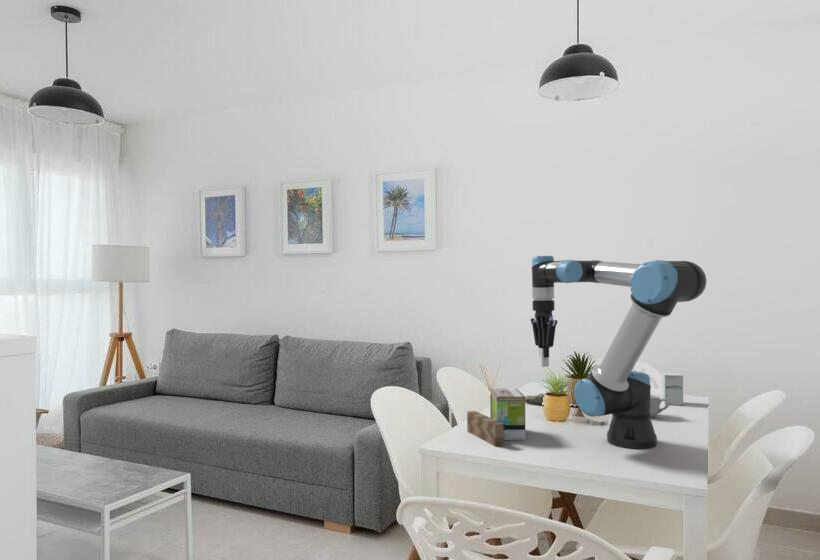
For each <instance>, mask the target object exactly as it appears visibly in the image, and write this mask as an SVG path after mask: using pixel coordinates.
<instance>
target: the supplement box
mask: <svg viewBox="0 0 820 560" xmlns="http://www.w3.org/2000/svg"><path fill="white" fill-rule="evenodd" d="M661 384H662V385H661V389H662V391H661V398H665V399H667V400H668V402H669V406H670V405H671V406H684V374H682V373H681V372H667V371H666V372H664V371H663V372H661ZM662 403H663V404H664V405H665V406H666V402H665V401H662Z"/></svg>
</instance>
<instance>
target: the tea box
mask: <svg viewBox="0 0 820 560" xmlns="http://www.w3.org/2000/svg"><path fill="white" fill-rule="evenodd" d="M489 391H490V394H489V395H490V408H489V409H490V418H492V419H494V420H496V421H499V422H501V423H503V435H504V441H525V440H526V402H525V396H526V395H524V394H523V393H522V392H521V391H520V390H519V389H518V388H490V389H489Z"/></svg>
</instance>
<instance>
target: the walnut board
mask: <svg viewBox="0 0 820 560" xmlns="http://www.w3.org/2000/svg"><path fill="white" fill-rule="evenodd" d="M466 422H467V423H466V426H467V431H466V432H468V433H470V434H472V435H473V436H476V437H477V438H479V439H480V440H483V441H484V442H486V443H488V444H490V445H491V446H494V447H503V446H505V445H504V441H505V440H504V435H503V423H501V422H499V421H496V420H494V419H492V418H491V416H488V415H485V414H484V413H481V412H478V411H477V410H469V411H466Z"/></svg>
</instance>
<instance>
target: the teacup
mask: <svg viewBox="0 0 820 560" xmlns="http://www.w3.org/2000/svg"><path fill="white" fill-rule="evenodd" d="M663 401H665V402H666V405H665V406H663V407H661V408H660V406H661V403H662V402H663ZM650 404H651V418H654V417H656V416H657V415H658V414H661V413H662V412H663V411H665V410H667V409H668V407H669V406H670V405H669V402H668V400H667V399H665V398H662V397H660V396H659V395H655V394H650Z"/></svg>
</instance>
